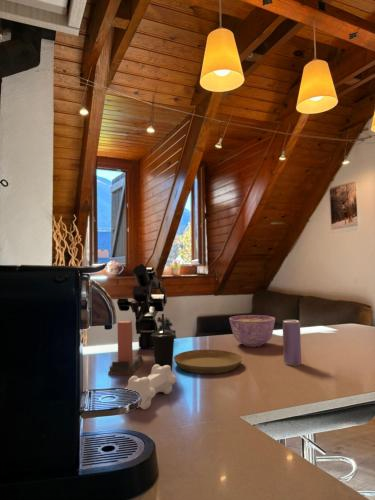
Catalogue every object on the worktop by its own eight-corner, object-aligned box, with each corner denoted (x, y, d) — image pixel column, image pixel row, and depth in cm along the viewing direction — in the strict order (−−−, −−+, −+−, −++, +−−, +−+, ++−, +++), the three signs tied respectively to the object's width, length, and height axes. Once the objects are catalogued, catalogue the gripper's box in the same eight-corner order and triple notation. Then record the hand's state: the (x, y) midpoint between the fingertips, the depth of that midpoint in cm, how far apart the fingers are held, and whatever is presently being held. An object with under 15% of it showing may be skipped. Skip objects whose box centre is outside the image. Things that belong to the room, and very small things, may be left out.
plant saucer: (247, 359, 139) (247, 350, 140) (235, 379, 117) (235, 368, 117) (186, 356, 147) (185, 347, 147) (163, 373, 124) (163, 363, 124)
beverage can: (297, 366, 127) (296, 322, 128) (281, 364, 131) (279, 321, 131) (303, 362, 132) (302, 320, 133) (287, 360, 136) (286, 319, 136)
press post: (121, 363, 132) (120, 320, 133) (134, 363, 132) (133, 320, 132) (116, 367, 127) (115, 322, 128) (130, 367, 127) (129, 322, 127)
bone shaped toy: (153, 391, 108) (150, 363, 109) (179, 392, 105) (176, 362, 105) (123, 410, 95) (119, 377, 95) (152, 411, 91) (148, 378, 92)
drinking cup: (169, 381, 115) (167, 316, 116) (147, 378, 118) (146, 315, 119) (180, 374, 122) (178, 312, 123) (159, 372, 125) (158, 312, 126)
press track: (122, 361, 139) (122, 351, 140) (143, 362, 139) (143, 351, 139) (108, 374, 124) (108, 362, 124) (131, 374, 123) (131, 362, 123)
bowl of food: (225, 348, 157) (224, 321, 157) (234, 339, 176) (233, 314, 176) (274, 351, 151) (273, 322, 151) (278, 340, 170) (277, 315, 170)
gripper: (118, 278, 155) (109, 309, 143) (162, 278, 152) (157, 309, 141) (123, 295, 162) (116, 325, 151) (166, 295, 160) (161, 326, 149)
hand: (137, 321), depth 148 cm, fingers closed
